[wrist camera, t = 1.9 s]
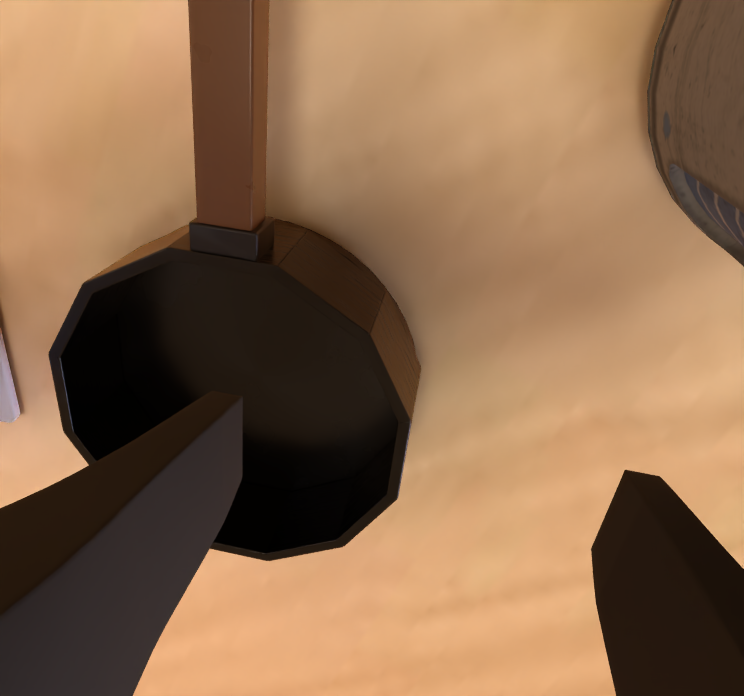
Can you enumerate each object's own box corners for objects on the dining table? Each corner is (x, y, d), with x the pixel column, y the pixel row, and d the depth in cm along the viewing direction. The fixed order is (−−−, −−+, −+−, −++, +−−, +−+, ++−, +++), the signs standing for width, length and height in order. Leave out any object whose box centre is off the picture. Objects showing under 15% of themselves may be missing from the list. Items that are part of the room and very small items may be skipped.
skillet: (396, 509, 25) (382, 586, 22) (133, 455, 26) (79, 521, 23) (497, -61, 15) (502, -87, 12) (64, -109, 16) (-50, -147, 13)
